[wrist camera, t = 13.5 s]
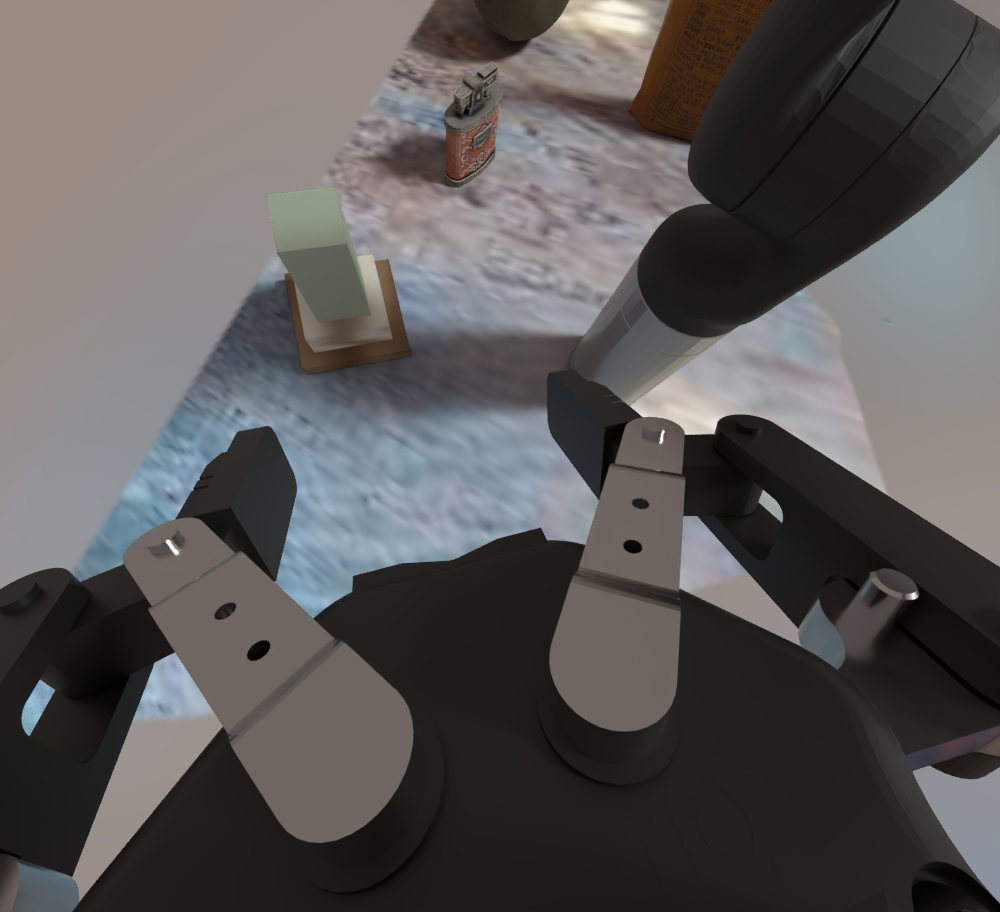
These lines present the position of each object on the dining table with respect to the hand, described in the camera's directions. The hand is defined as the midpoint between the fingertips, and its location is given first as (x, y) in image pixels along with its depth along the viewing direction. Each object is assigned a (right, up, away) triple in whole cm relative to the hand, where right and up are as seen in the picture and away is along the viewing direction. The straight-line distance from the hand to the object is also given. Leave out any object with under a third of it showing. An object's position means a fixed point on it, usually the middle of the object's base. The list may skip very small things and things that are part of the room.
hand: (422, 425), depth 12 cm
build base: (-14, +14, +33) cm, 38 cm away
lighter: (-1, +35, +39) cm, 52 cm away
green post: (-14, +15, +28) cm, 35 cm away
